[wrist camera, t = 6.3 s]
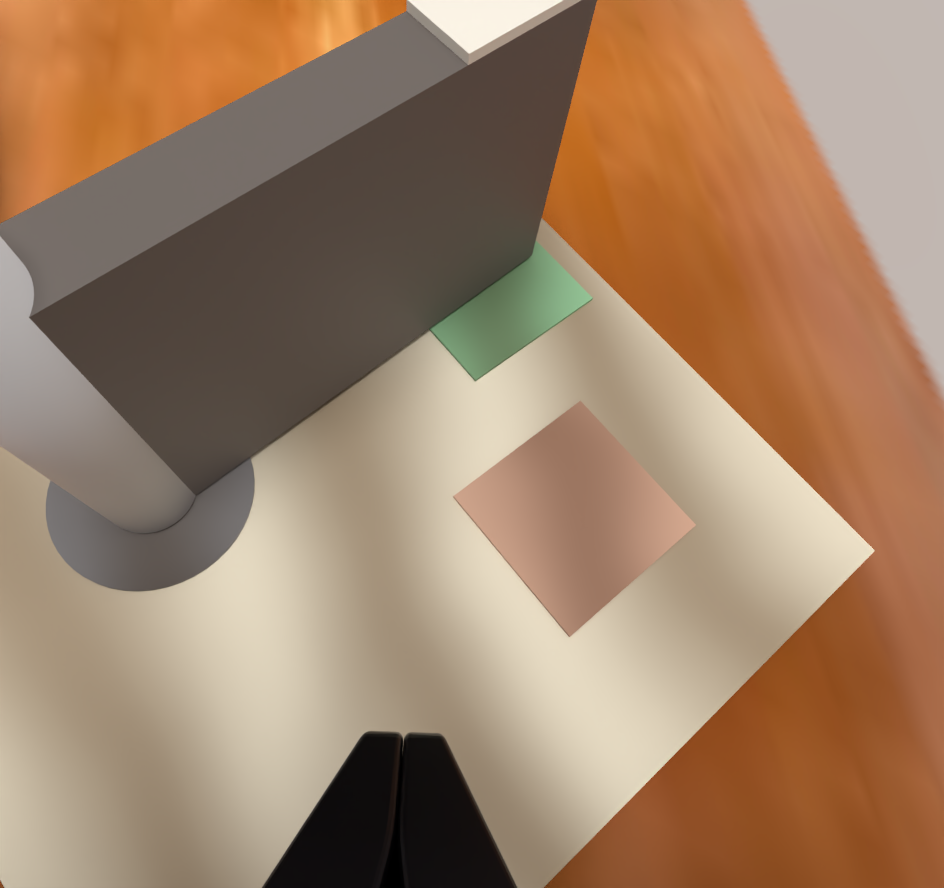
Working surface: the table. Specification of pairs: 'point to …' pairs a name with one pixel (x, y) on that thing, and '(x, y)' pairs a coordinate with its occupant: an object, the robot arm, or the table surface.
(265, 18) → the table surface
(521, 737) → the cream square board
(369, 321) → the grey upright slab
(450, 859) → the robot arm
